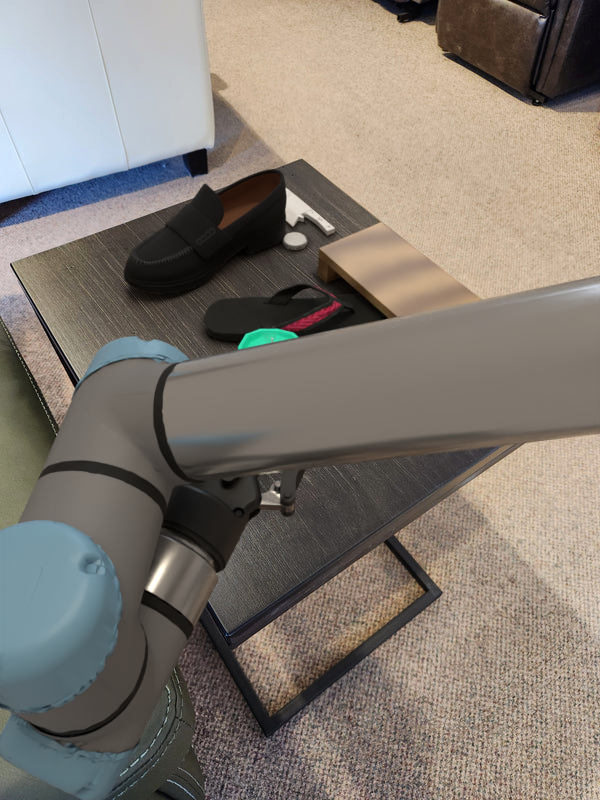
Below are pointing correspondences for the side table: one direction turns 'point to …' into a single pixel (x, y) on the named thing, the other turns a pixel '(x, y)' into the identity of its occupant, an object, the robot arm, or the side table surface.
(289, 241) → the white ridged disc
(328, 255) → the oak shelf
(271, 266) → the side table surface
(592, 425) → the robot arm
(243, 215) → the loafer
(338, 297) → the sandal
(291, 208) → the white plastic blade
